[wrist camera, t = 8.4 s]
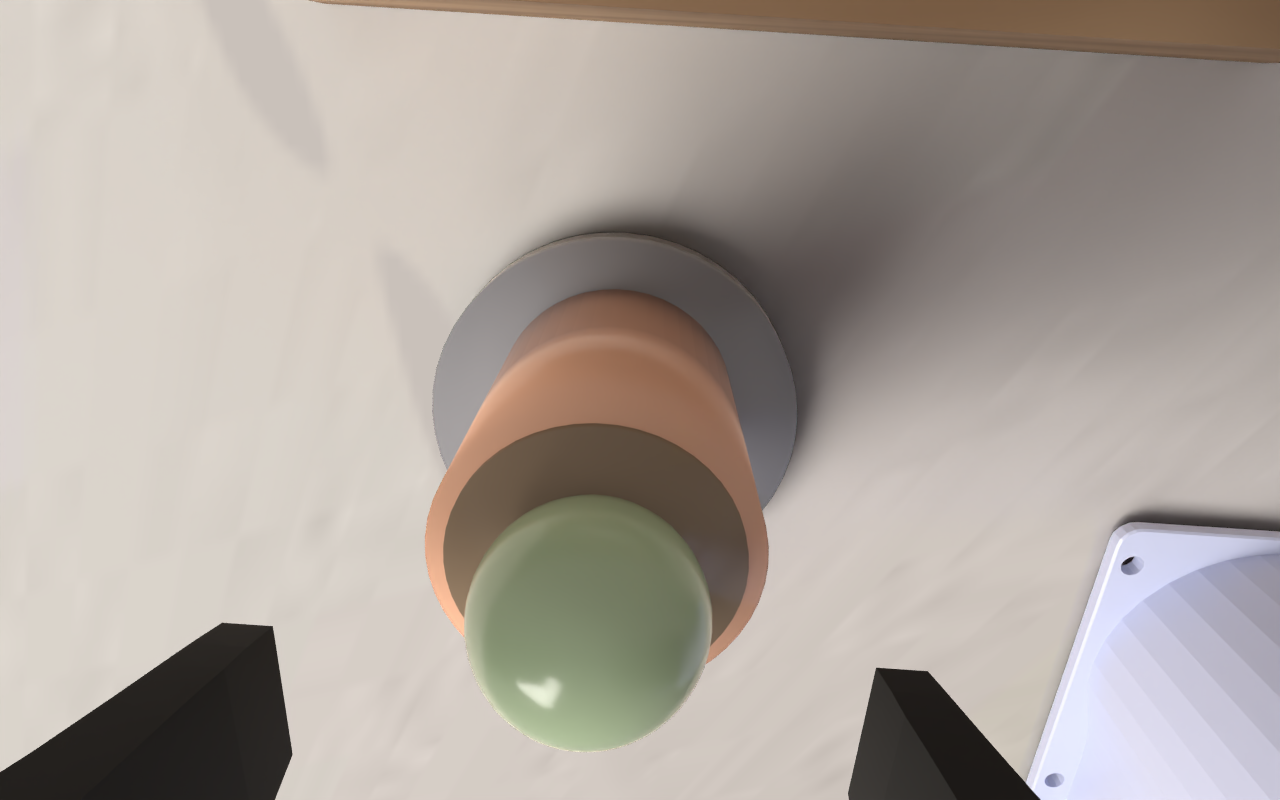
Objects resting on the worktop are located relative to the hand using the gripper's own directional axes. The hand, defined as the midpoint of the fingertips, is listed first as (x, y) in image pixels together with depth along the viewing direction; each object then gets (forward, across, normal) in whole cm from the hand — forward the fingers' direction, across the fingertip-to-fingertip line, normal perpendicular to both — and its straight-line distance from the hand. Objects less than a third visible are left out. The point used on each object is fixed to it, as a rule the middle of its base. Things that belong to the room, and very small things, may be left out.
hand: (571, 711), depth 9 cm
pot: (+8, 0, 0) cm, 8 cm away
